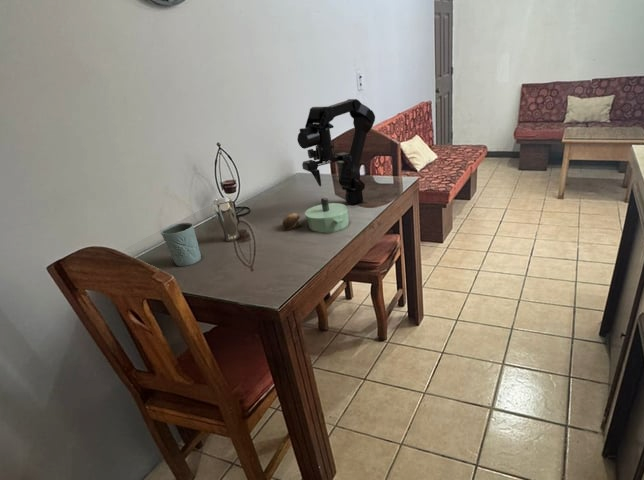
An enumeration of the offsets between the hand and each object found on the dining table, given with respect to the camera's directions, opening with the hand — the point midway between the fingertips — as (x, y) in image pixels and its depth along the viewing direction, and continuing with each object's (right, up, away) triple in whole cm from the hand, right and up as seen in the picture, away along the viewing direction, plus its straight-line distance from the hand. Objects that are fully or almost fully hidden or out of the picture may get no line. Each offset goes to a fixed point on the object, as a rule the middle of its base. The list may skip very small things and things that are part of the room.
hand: (330, 183), depth 166 cm
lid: (-1, -13, -7) cm, 14 cm away
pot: (0, -17, -5) cm, 18 cm away
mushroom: (-14, -19, -4) cm, 24 cm away
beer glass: (-36, -23, -7) cm, 43 cm away
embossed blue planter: (-47, -32, -21) cm, 60 cm away
